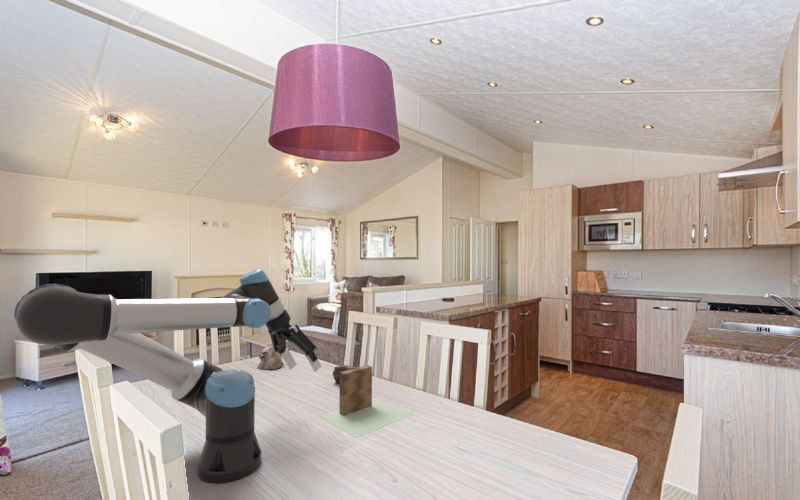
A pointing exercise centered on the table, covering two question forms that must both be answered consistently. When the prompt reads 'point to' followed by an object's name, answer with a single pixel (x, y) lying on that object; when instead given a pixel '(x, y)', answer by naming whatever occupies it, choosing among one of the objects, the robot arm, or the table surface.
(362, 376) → the board
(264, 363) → the rock
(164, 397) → the table surface
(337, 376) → the rock
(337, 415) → the mat
